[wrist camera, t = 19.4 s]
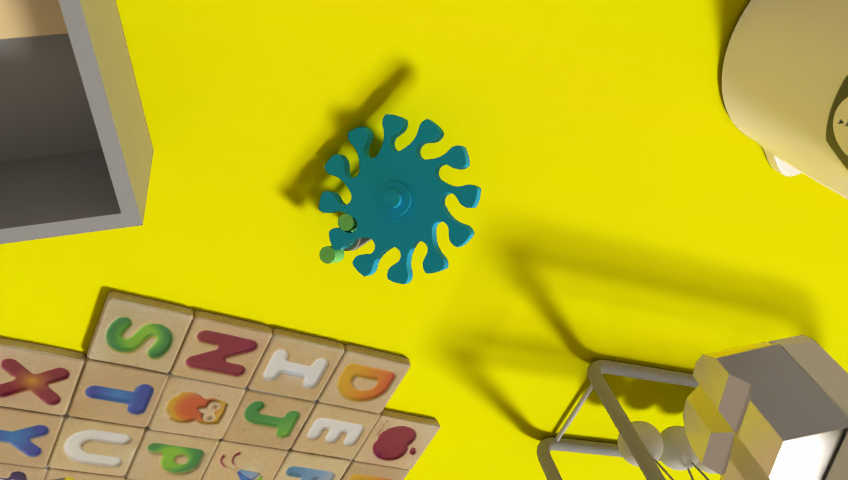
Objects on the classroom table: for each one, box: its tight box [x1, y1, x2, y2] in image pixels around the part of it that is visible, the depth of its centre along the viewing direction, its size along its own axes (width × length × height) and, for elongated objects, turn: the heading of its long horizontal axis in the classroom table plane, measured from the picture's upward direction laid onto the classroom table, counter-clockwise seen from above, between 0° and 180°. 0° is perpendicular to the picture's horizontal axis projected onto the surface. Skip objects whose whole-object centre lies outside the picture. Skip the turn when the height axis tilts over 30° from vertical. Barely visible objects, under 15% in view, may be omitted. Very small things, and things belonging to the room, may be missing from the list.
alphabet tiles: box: [0, 291, 440, 480], centre depth 57 cm, size 28×33×1 cm
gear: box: [319, 114, 481, 284], centre depth 46 cm, size 11×6×10 cm
